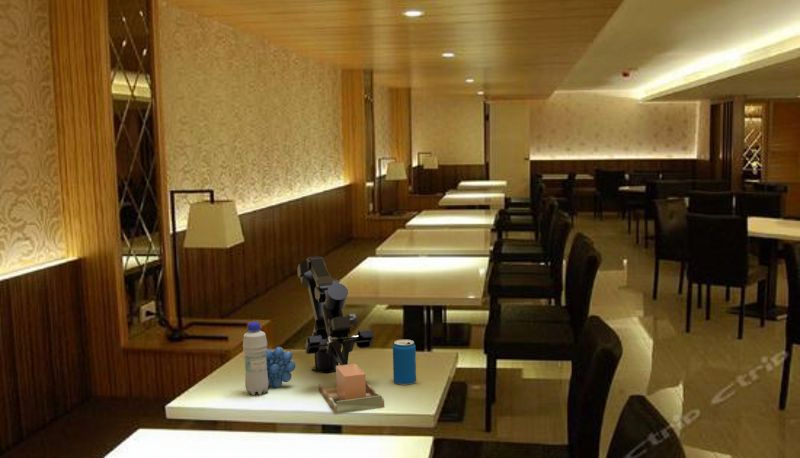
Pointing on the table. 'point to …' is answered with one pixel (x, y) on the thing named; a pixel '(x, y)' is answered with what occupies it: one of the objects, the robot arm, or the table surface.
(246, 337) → the bottle
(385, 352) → the table surface
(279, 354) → the grapes
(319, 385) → the box
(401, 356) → the beverage can
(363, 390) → the brick
